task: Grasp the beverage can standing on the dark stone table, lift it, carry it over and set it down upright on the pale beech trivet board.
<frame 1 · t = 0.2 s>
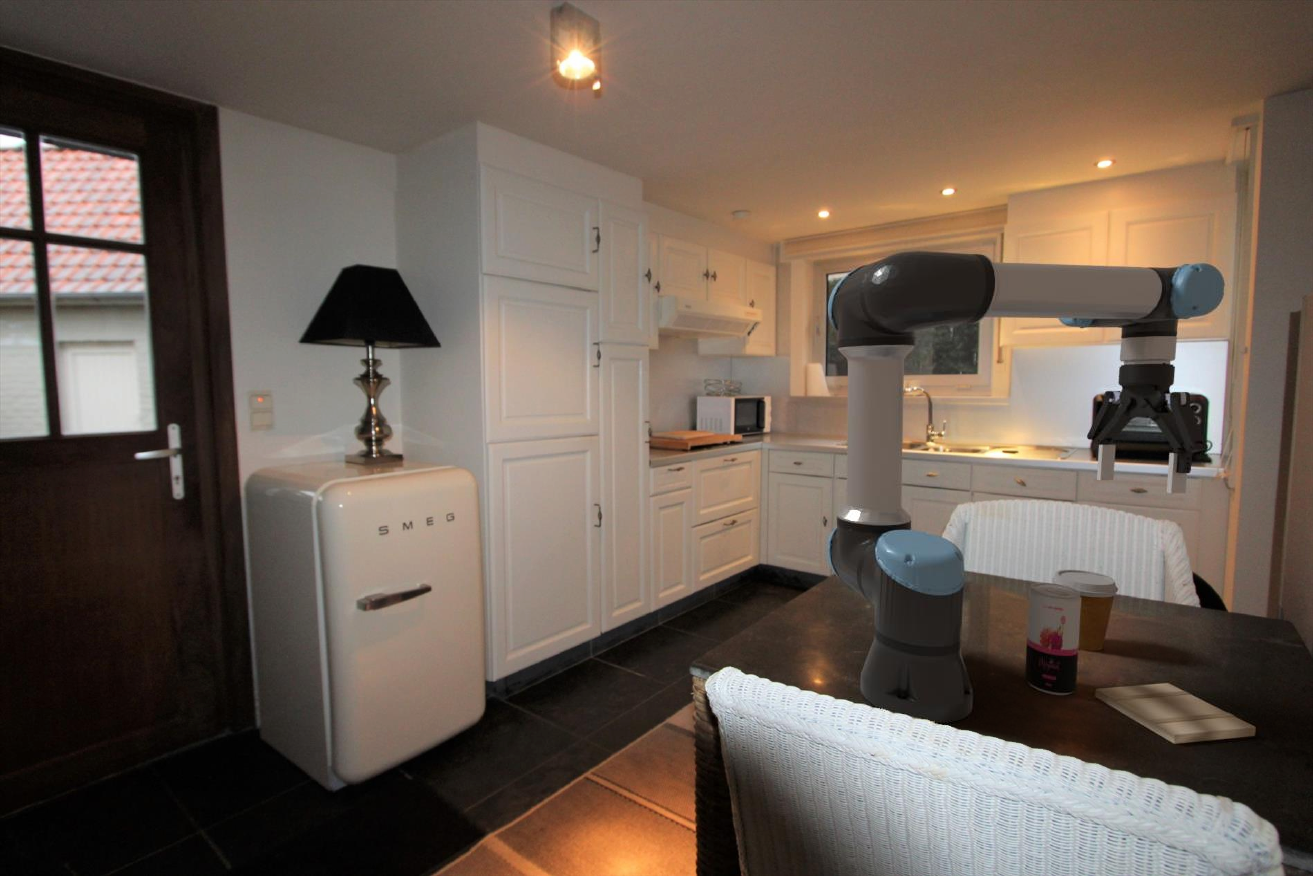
hand: (1138, 486, 109), 28 cm above the table, fingers open, 13 cm apart
disposable coffee cup: (1080, 644, 110), on the table
beverage can: (1049, 687, 95), on the table
trivet: (1170, 715, 86), on the table
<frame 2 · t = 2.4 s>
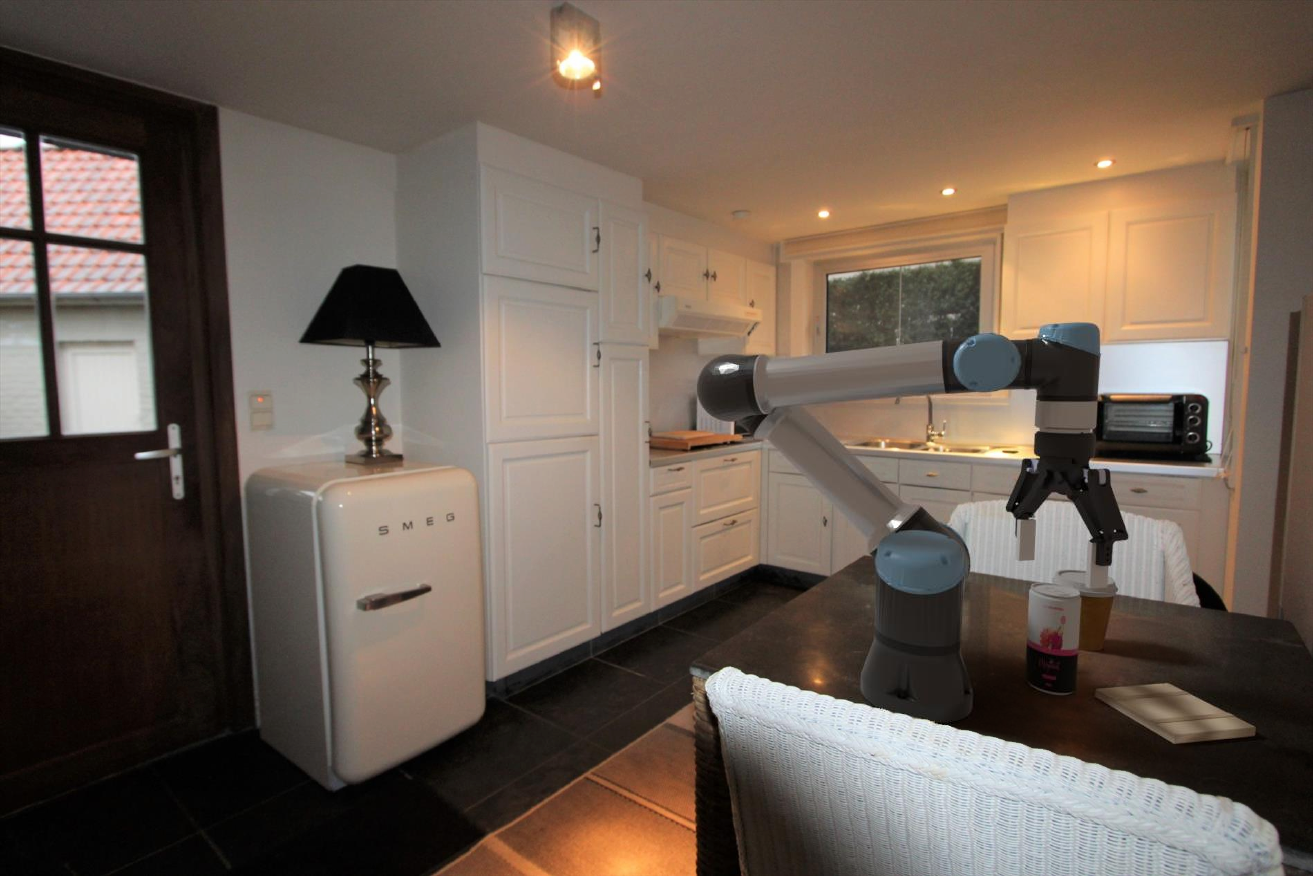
hand: (1058, 572, 93), 18 cm above the table, fingers open, 13 cm apart
nothing on the table moved.
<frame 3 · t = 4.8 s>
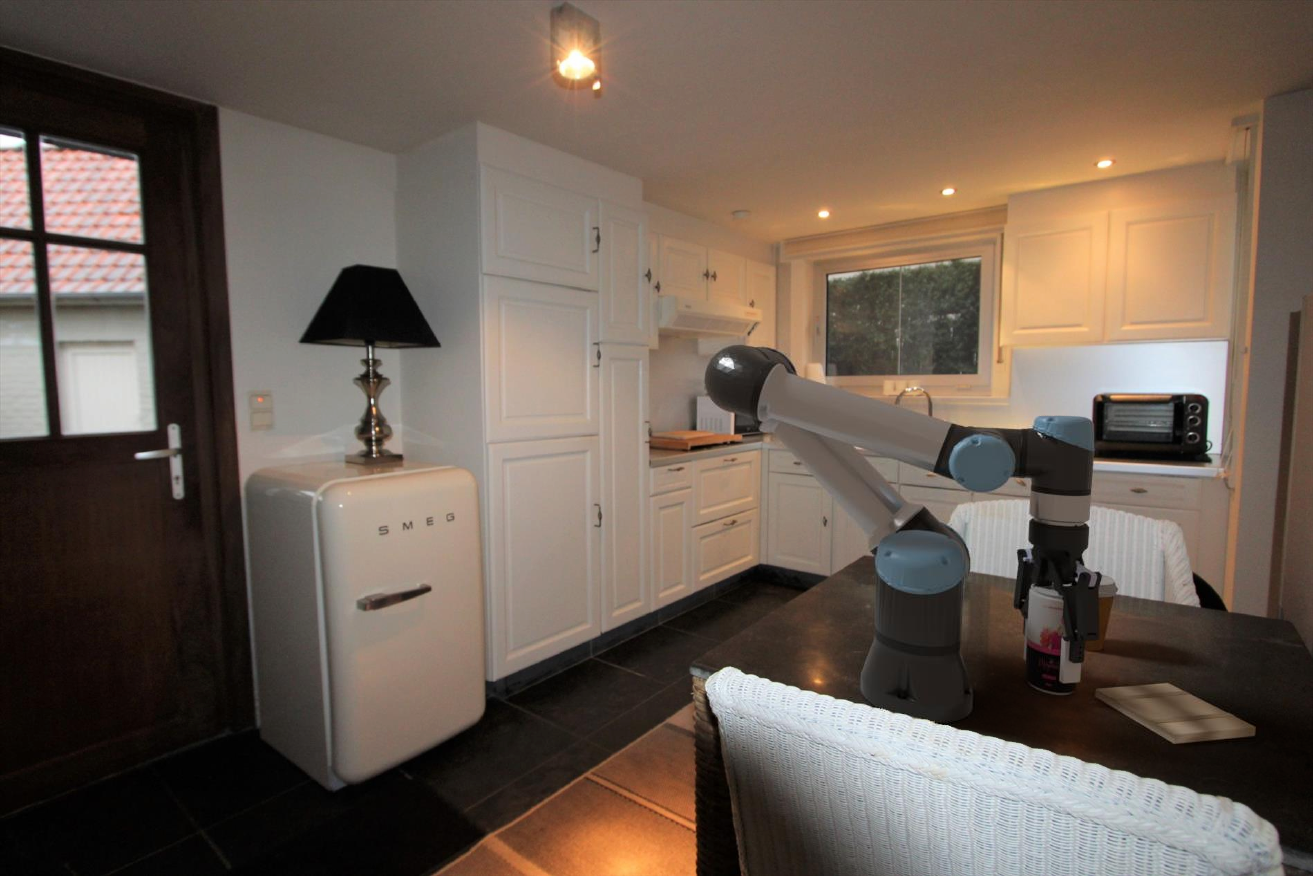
hand: (1050, 669, 94), 2 cm above the table, fingers closed on beverage can, 6 cm apart
beverage can: (1049, 687, 95), on the table, touching gripper
everything else where it was.
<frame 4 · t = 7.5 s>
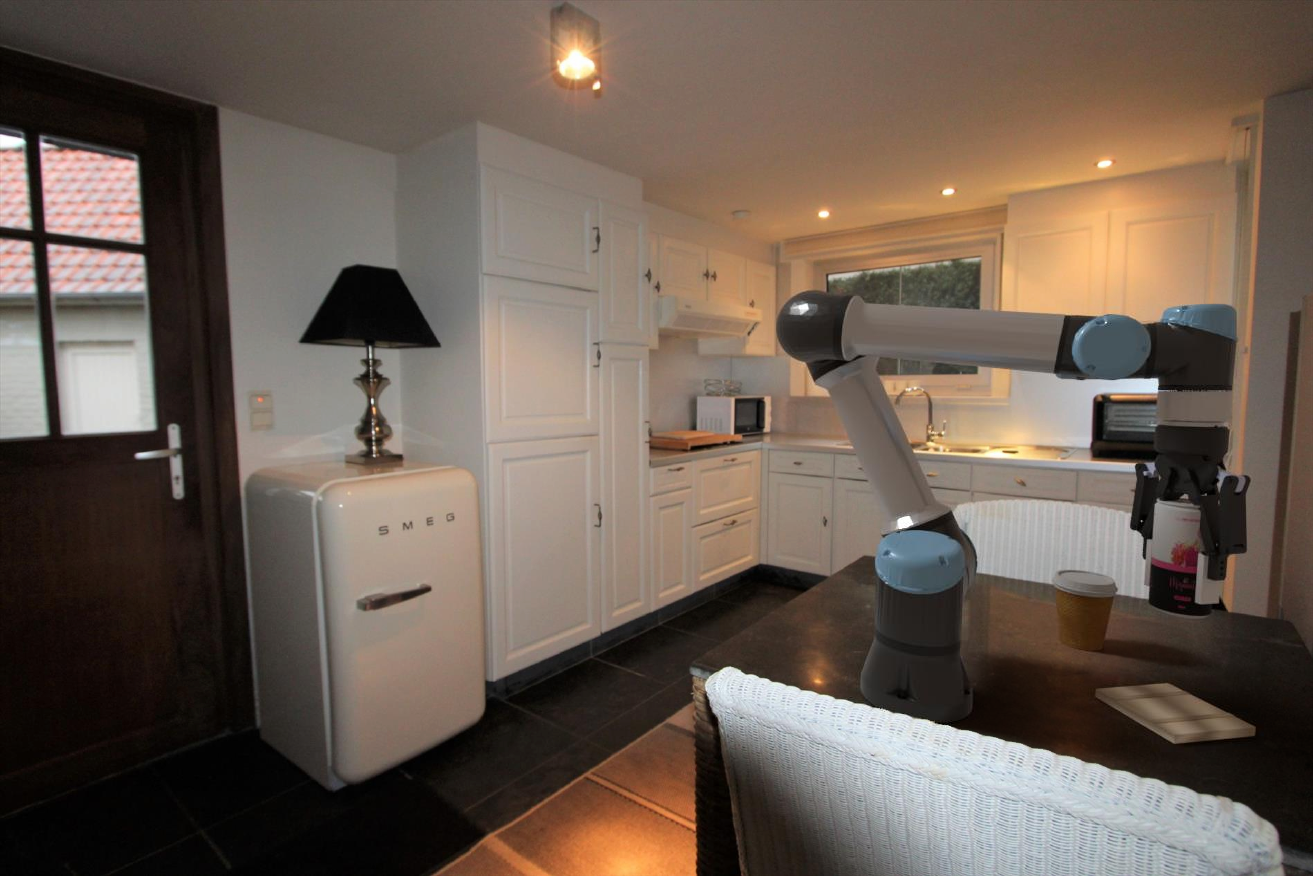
hand: (1179, 593, 84), 17 cm above the table, fingers closed on beverage can, 6 cm apart
beverage can: (1178, 612, 85), point 15 cm above the table, touching gripper
everything else where it was.
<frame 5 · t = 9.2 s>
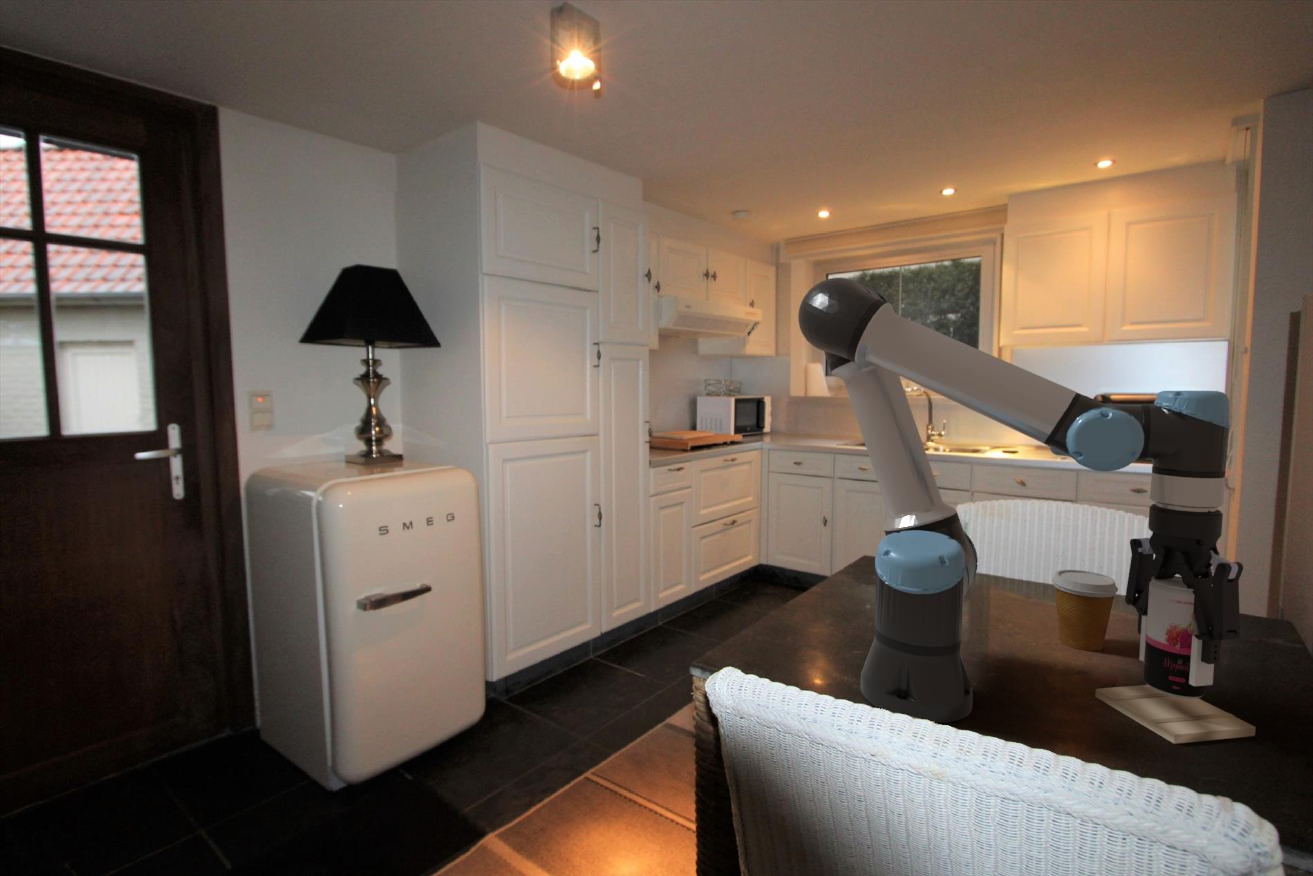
hand: (1174, 671, 85), 6 cm above the table, fingers closed on beverage can, 6 cm apart
beverage can: (1173, 690, 86), point 4 cm above the table, touching gripper
everything else where it was.
when the fingers open (5 cm above the table, at t = 10.3 s): beverage can drops 1 cm, resting on trivet.
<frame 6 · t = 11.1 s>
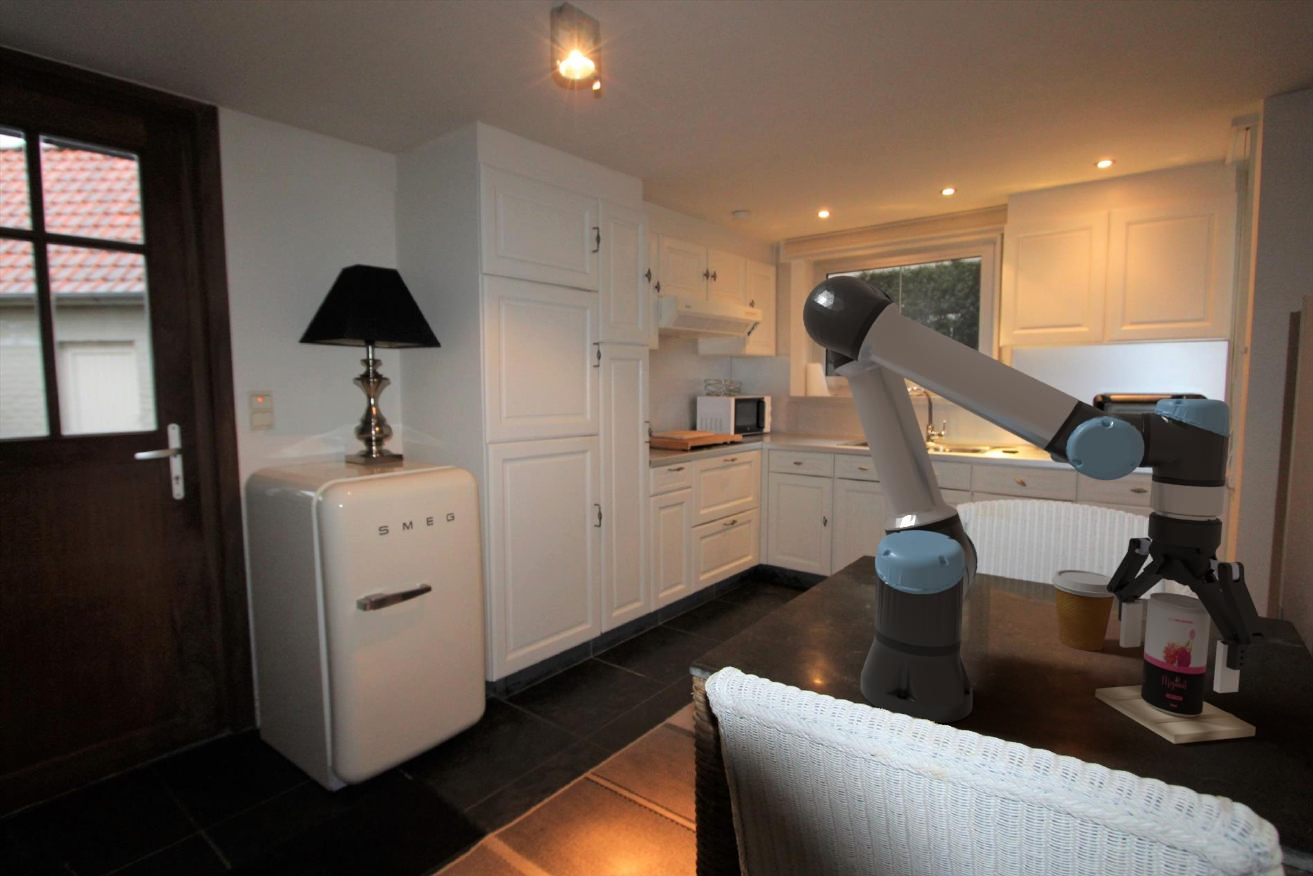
hand: (1173, 667, 85), 7 cm above the table, fingers open, 13 cm apart
beverage can: (1170, 707, 86), point 1 cm above the table, touching trivet
everything else where it was.
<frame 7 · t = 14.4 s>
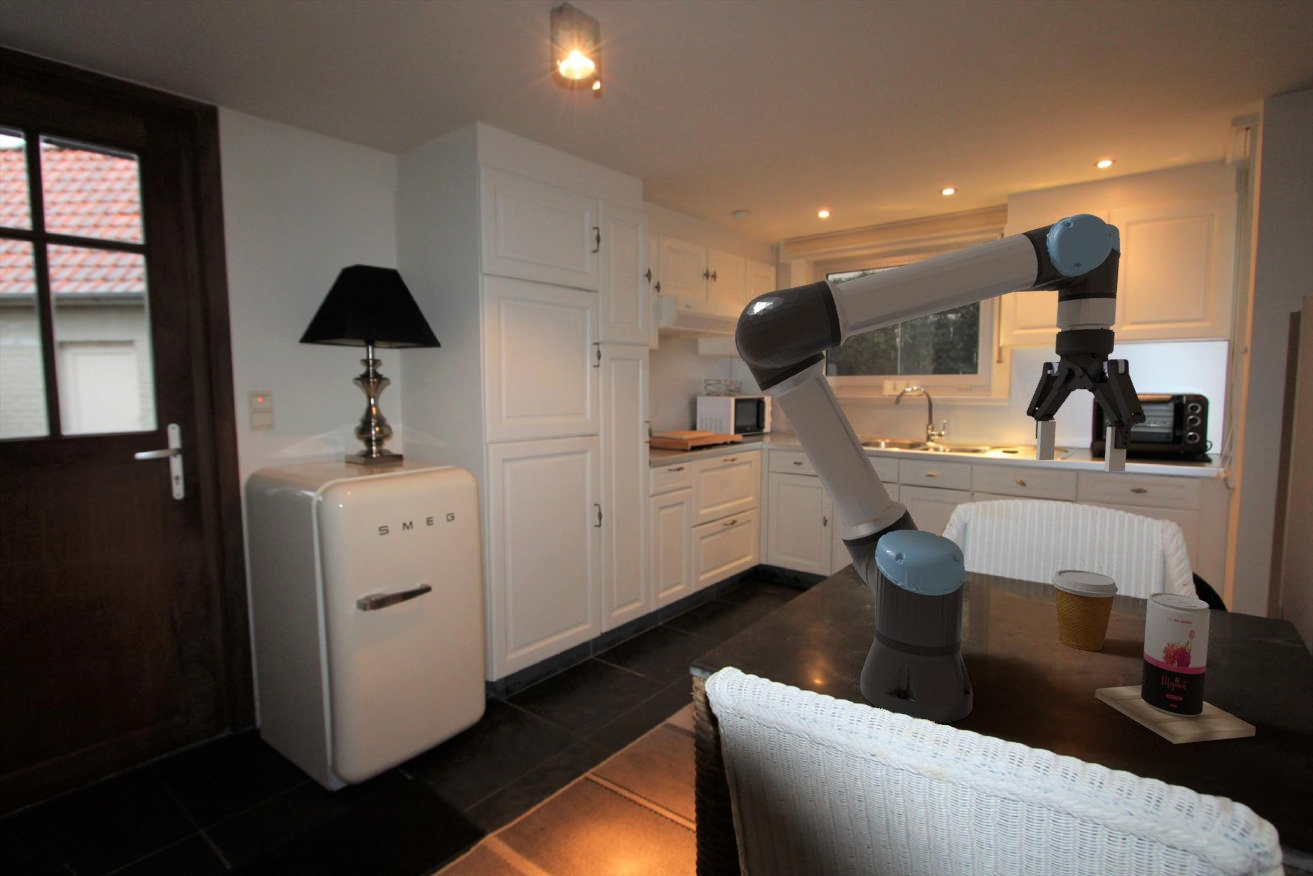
hand: (1077, 465, 99), 33 cm above the table, fingers open, 13 cm apart
nothing on the table moved.
at the end: beverage can inside the target area on the trivet (0.0 cm from its centre), point 1.1 cm above the trivet's base; beverage can tilted 0°; the gripper is holding nothing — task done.
